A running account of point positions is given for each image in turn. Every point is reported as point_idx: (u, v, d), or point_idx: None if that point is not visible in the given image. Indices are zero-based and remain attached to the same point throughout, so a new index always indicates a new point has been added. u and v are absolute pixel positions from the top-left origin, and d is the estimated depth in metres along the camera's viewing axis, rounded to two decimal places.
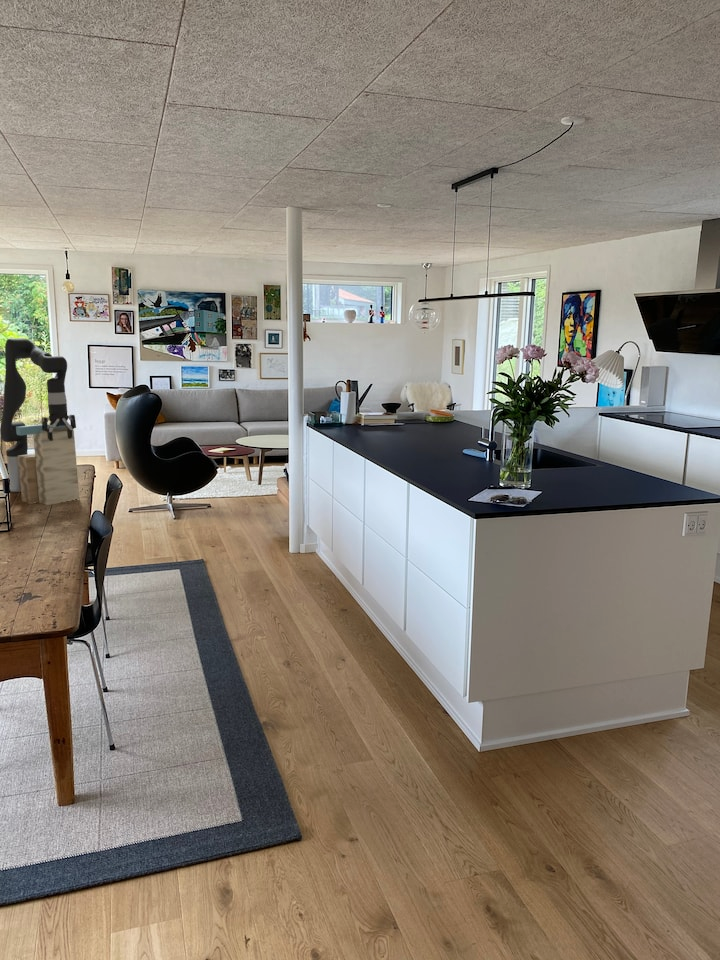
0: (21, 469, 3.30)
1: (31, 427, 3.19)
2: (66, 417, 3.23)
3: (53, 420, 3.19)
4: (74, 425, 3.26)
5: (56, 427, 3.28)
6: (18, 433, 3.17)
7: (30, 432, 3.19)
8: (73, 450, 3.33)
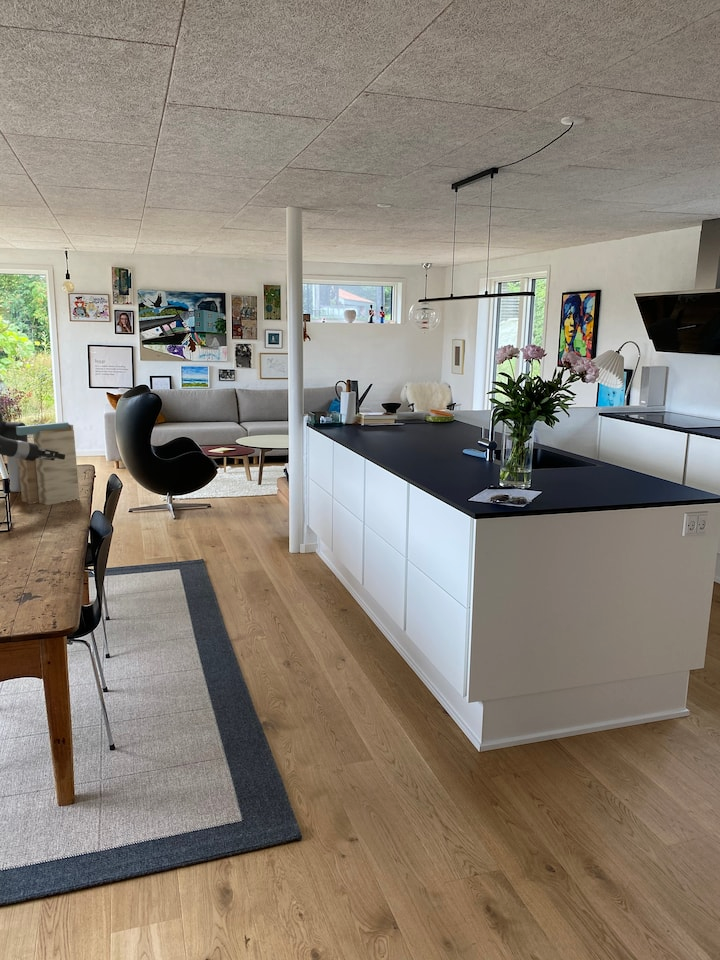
0: (21, 469, 3.30)
1: (31, 427, 3.19)
2: (42, 455, 3.12)
3: None
4: (54, 457, 3.13)
5: (56, 427, 3.28)
6: (18, 433, 3.17)
7: (30, 432, 3.19)
8: (73, 450, 3.33)
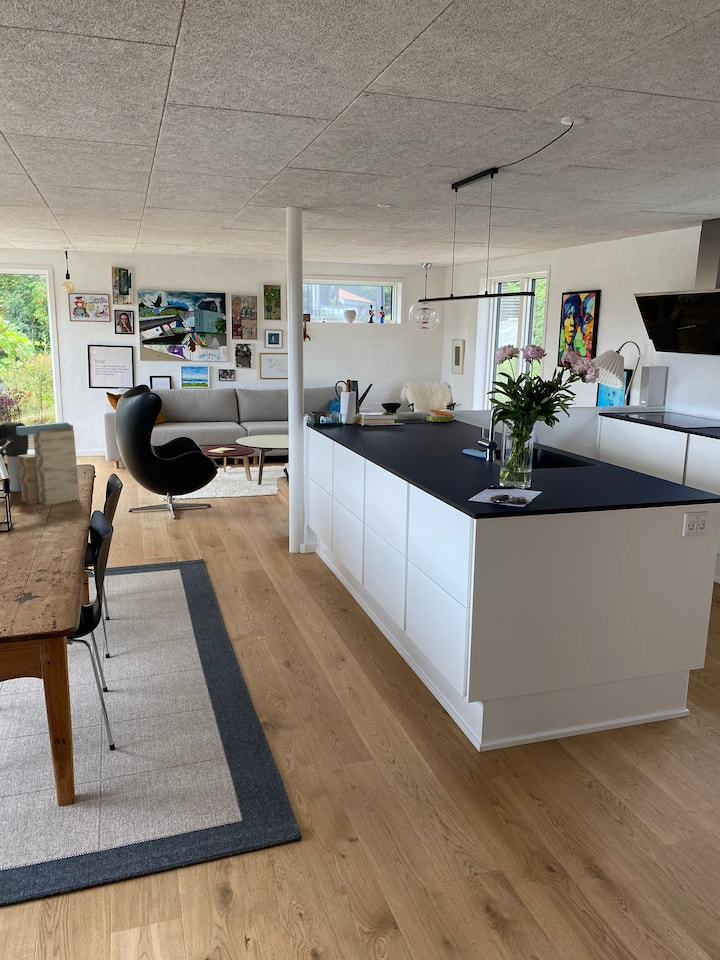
0: (21, 469, 3.30)
1: (31, 427, 3.19)
2: None
3: None
4: None
5: (56, 427, 3.28)
6: (18, 433, 3.17)
7: (30, 432, 3.19)
8: (73, 450, 3.33)
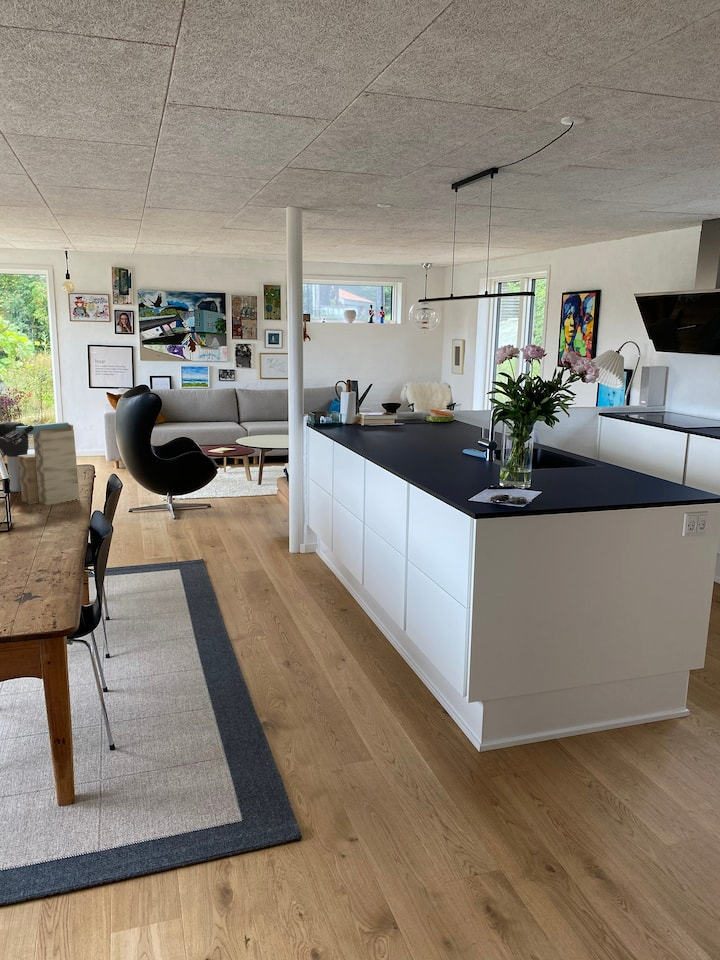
0: (21, 469, 3.30)
1: None
2: None
3: None
4: None
5: (56, 427, 3.28)
6: None
7: (30, 432, 3.19)
8: (73, 450, 3.33)
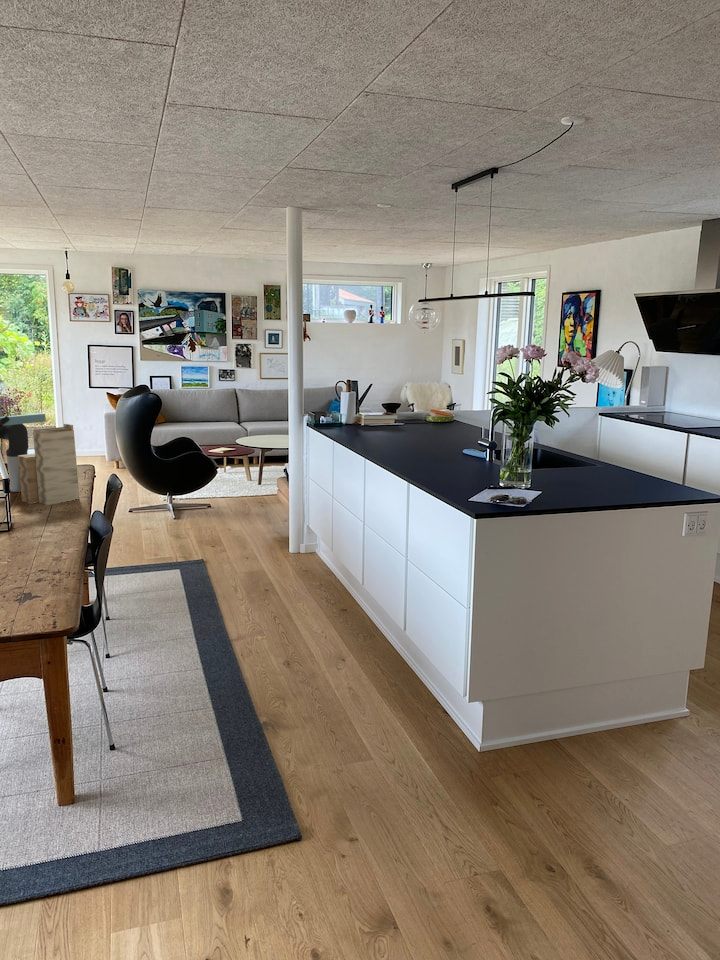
0: (21, 469, 3.30)
1: None
2: None
3: None
4: None
5: (32, 418, 3.28)
6: None
7: (6, 423, 3.20)
8: (73, 450, 3.33)
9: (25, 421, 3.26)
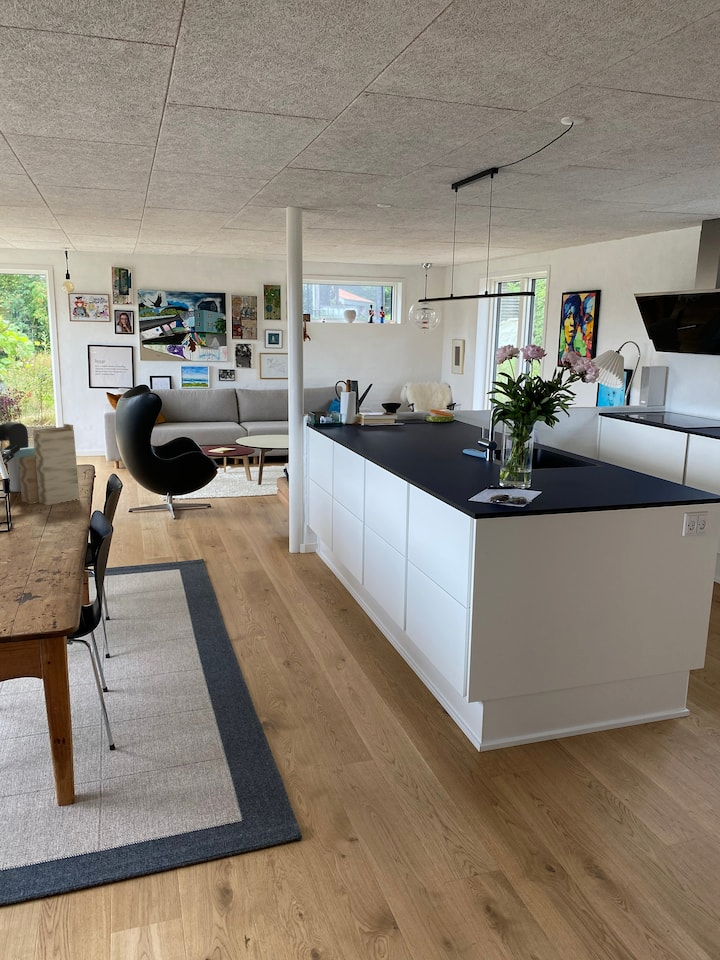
0: (21, 469, 3.30)
1: (17, 451, 3.25)
2: None
3: None
4: None
5: None
6: None
7: (16, 456, 3.25)
8: (73, 450, 3.33)
9: None
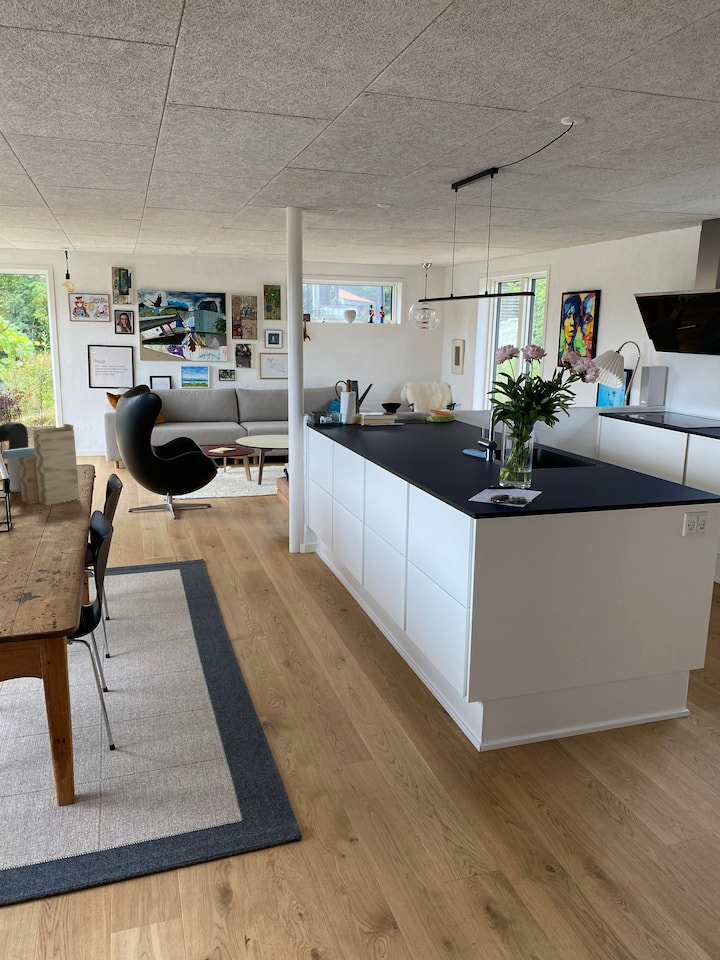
0: (21, 469, 3.30)
1: (17, 451, 3.25)
2: None
3: None
4: None
5: None
6: (4, 457, 3.23)
7: (16, 456, 3.25)
8: (73, 450, 3.33)
9: None
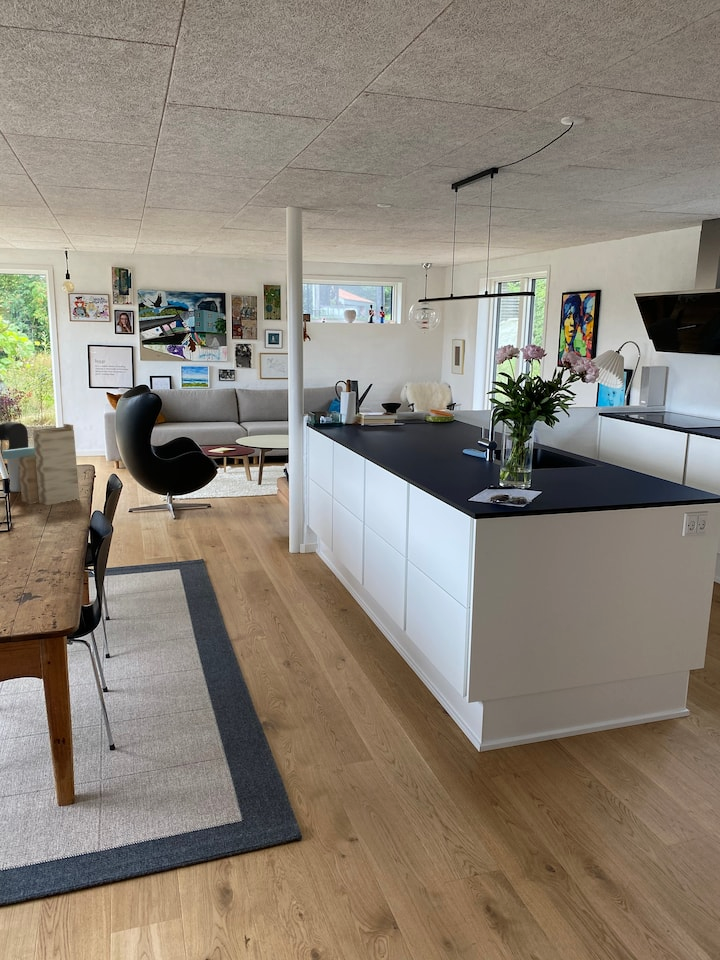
0: (21, 469, 3.30)
1: (17, 451, 3.25)
2: None
3: None
4: None
5: None
6: (4, 457, 3.23)
7: (16, 456, 3.25)
8: (73, 450, 3.33)
9: None
